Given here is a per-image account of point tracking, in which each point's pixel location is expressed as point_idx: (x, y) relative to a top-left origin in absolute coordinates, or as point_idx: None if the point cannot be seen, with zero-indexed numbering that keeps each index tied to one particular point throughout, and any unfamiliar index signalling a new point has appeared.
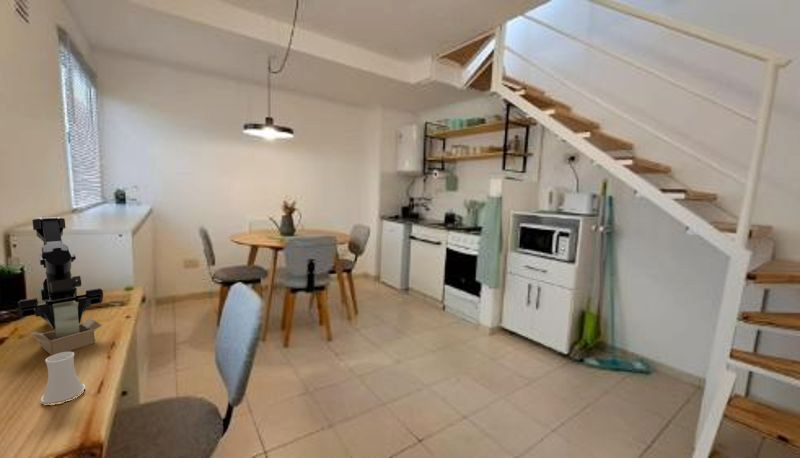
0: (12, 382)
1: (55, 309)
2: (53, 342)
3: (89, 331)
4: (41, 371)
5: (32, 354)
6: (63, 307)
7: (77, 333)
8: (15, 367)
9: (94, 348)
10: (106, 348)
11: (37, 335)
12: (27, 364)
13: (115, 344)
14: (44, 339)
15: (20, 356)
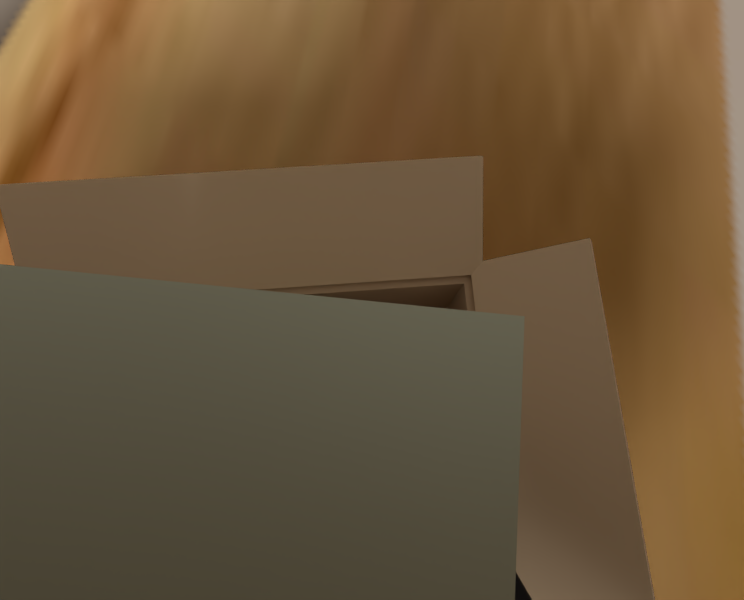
0: (691, 9)
1: (453, 311)
2: (450, 267)
3: (82, 218)
4: (540, 45)
5: None
6: (131, 288)
7: (214, 173)
8: (685, 271)
9: None
10: (96, 119)
11: (600, 572)
12: (612, 263)
13: (11, 150)
14: (533, 353)
15: (658, 526)
